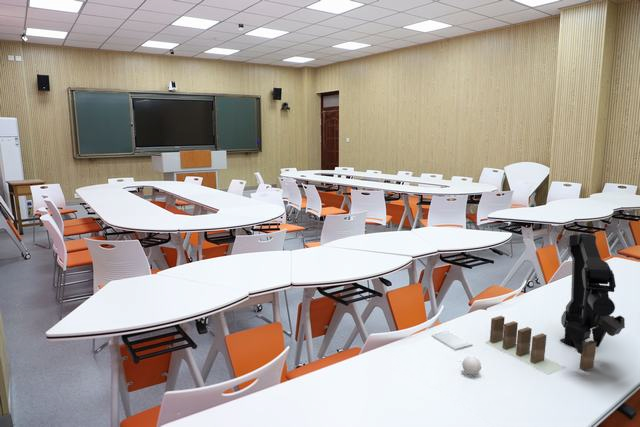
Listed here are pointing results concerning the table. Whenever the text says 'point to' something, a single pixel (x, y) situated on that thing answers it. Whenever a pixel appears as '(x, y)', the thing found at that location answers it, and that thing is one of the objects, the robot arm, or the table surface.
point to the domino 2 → (510, 335)
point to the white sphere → (471, 365)
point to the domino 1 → (497, 329)
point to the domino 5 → (588, 355)
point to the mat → (544, 366)
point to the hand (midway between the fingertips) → (588, 349)
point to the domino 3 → (523, 341)
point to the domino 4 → (538, 348)
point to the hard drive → (451, 340)
